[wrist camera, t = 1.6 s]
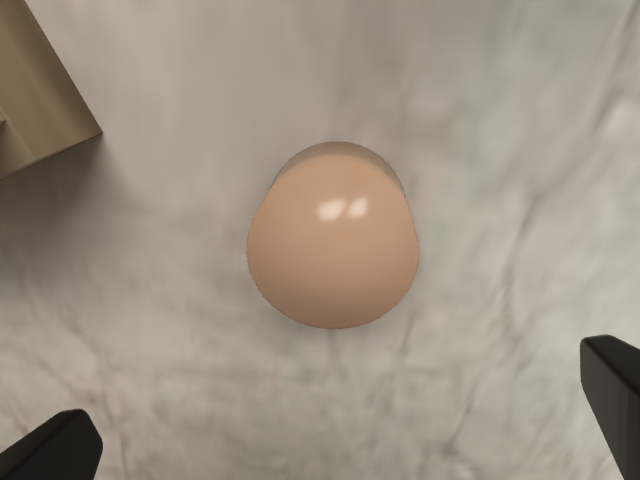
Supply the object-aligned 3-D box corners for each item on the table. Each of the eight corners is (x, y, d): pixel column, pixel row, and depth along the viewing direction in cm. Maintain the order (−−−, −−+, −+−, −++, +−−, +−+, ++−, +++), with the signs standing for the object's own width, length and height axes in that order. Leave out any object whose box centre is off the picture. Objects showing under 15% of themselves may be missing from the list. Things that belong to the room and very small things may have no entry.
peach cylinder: (392, 127, 16) (403, 155, 12) (415, 256, 18) (430, 315, 14) (253, 158, 17) (224, 194, 13) (289, 279, 19) (272, 339, 15)
